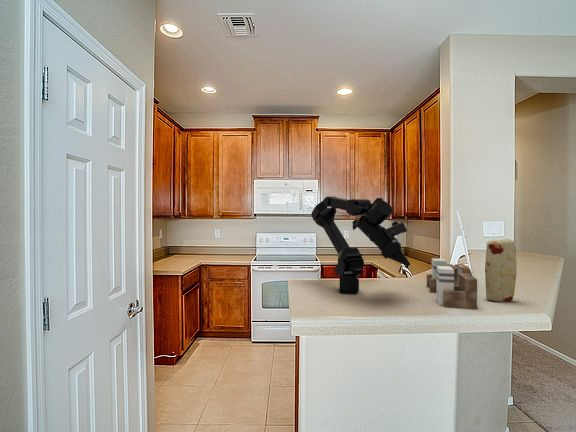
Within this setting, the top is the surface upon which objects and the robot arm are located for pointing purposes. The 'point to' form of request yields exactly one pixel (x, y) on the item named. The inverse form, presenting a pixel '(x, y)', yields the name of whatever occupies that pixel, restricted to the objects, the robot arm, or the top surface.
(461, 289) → the housing
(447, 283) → the white rectangular block
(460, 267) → the tin
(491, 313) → the top surface
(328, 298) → the top surface
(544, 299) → the top surface
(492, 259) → the food model
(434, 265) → the pale green box
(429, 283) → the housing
